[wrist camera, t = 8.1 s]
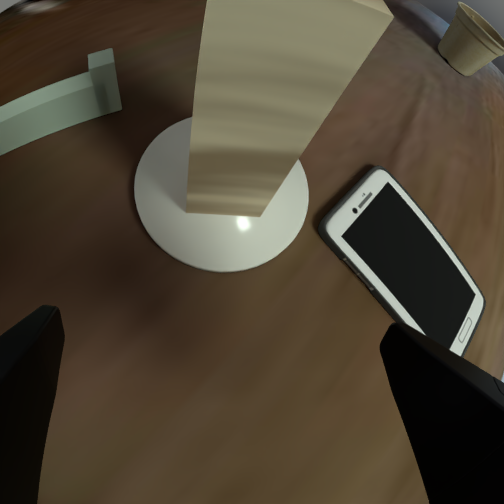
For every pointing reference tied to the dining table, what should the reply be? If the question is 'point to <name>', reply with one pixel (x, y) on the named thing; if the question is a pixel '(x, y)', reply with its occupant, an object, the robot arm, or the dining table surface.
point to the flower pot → (470, 41)
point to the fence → (61, 104)
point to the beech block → (269, 92)
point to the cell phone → (404, 260)
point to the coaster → (211, 225)
